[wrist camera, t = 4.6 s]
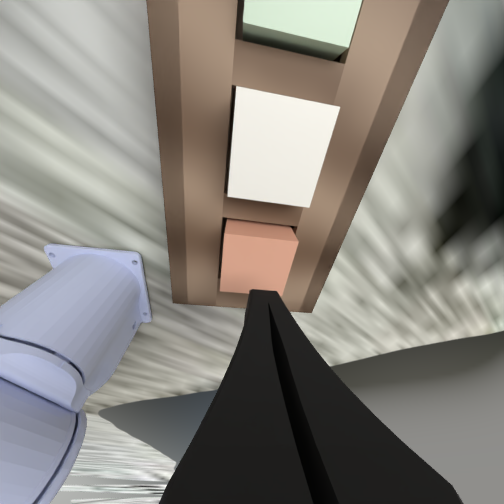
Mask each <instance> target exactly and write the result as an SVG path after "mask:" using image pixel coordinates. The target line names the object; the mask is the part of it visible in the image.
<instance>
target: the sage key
mask: <svg viewBox="0 0 504 504" xmlns="http://www.w3.org/2000/svg"><path fill="white" fill-rule="evenodd" d="M361 3H362V0H245V2H244V14H243V41H246V42H251V43H255V44H260V45H264V46H268V47H273V48H277V49H281V50H286V51H290V52H294V53H299V54H303V55H308V56H312V57H316V58H321V59H325V60H329V61H333V60H334V59H336V58H337V57H338V56H339V55H340V54H342V53H343V52H344V51H345V50H346V49H348V48H349V44H350V41H351V37H352V34H353V31H354V27H355V24H356V20H357V17H358V13H359V10H360V6H361Z"/></svg>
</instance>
